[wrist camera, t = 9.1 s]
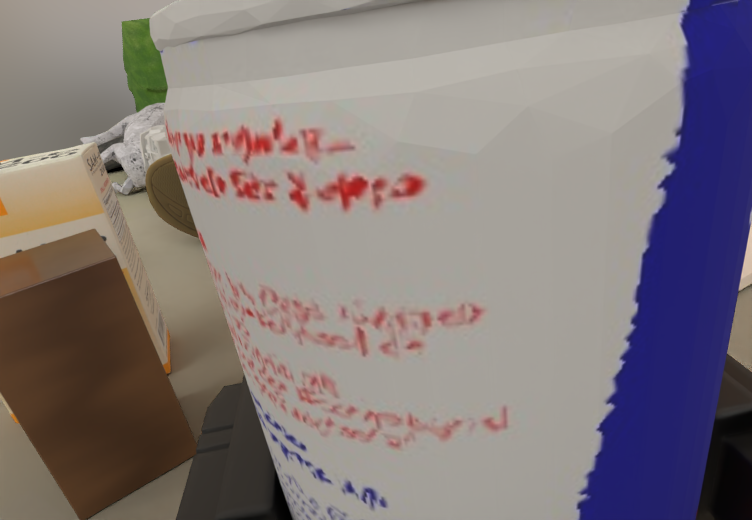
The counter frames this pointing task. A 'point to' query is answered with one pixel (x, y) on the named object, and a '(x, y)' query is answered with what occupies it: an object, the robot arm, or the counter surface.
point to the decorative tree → (143, 64)
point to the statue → (129, 144)
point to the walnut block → (86, 373)
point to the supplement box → (74, 220)
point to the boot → (169, 195)
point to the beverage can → (472, 242)
